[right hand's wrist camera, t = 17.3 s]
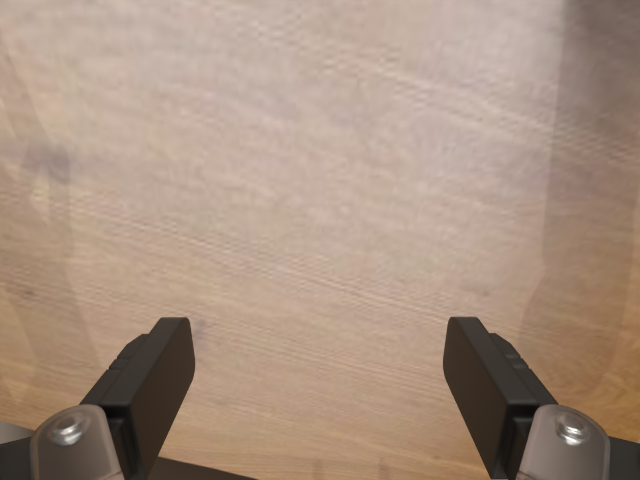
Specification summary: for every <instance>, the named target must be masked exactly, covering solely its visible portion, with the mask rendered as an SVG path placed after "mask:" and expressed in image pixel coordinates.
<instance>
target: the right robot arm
mask: <svg viewBox="0 0 640 480" xmlns="http://www.w3.org/2000/svg"><path fill="white" fill-rule="evenodd" d="M443 370H444V375H445V379H446V381H447V383H448V386H449V388H450V390H451V392H452V394H453V397H454V399H455V401H456V403H457V405H458V408H459V410H460V412H461V414H462V416H463V419H464V421H465V423H466V425H467V427H468V430H469V432H470V434H471V436H472V438H473V441H474V443H475V445H476V447H477V450H478V452H479V454H480V456H481V458H482V461H483V463H484V465H485V467H486V469H487V472H488V474H489V476H490V478H491V479H508V480H640V444H639V443H635V442H631V441H627V440H623V439H618V438H614V437H610V436H608V435H607V434H606V432H605V431H604V429H603V428H602V427H601V426H600V425H599V424H598V423H597V422H596V421H594V420H593V419H592V418H590V417H589V416H587V415H586V414H584V413H582V412H580V411H578V410H575V409H573V408H570V407H567V406H563V405H559V404H558V403H557V401H556V400H555V399H554V398H553V396H552V395H551V394H550V393H549V391H548V390H547V389H546V388H545V386H544V385H543V384H542V383H541V381H540V380H539V379H538V377H537V376H536V375H535V374H534V372H533V371H532V370H531V369H529V368H528V365H527V364H526V362H525V361H524V360H523V359H522V358H520V355H519V354H518V352H517V351H516V350H515V348H514V347H513V346H512V345H511V344H510V343H509V342H508V341H506V340H505V339H503V338H502V337H500V336H499V335H497V334H496V333H489V332H488V331H487V330H486V328H485V327H484V326H483V324H482V323H481V322H480V320H479V319H478V318H477V317H450V319H449V321H448V326H447V334H446V341H445V348H444V356H443ZM194 372H195V356H194V348H193V341H192V334H191V327H190V322H189V319H188V318H186V317H162V318H160V319H159V321H158V322H157V323H156V325H155V326H154V327H153V329H152V330H151V331H150V333H149V334H141V335H140V336H139V337H137V338H136V339H134V340H133V341H131V342H130V343H128V344H127V345H126V346H125V347H124V349H123V350H122V351H121V352H120V354H119V355H118V356H117V359H115V360H114V361H113V363H112V364H111V365H110V366H109V370H106V371H105V373H104V374H103V375H102V376H101V378H100V379H99V380H98V381H97V383H96V384H95V385H94V386H93V388H92V389H91V390H90V391H89V393H88V394H87V395H86V396H85V398H84V399H83V400H82V401H81V403H80V404H79V405H77V406H73V407H70V408H67V409H65V410H62V411H60V412H58V413H56V414H54V415H53V416H51V417H50V418H48V419H47V420H46V421H44V422H43V423H42V424H41V425H40V426H39V427H38V428H37V429H36V431H35V432H34V434H33V435H32V436H31V437H28V438H24V439H20V440H16V441H12V442H8V443H3V444H0V480H147V478H148V476H149V474H150V471H151V469H152V467H153V465H154V463H155V460H156V458H157V456H158V454H159V452H160V450H161V447H162V445H163V443H164V441H165V439H166V437H167V434H168V432H169V430H170V428H171V426H172V424H173V421H174V419H175V417H176V415H177V413H178V411H179V408H180V406H181V404H182V402H183V400H184V397H185V395H186V393H187V391H188V389H189V387H190V384H191V382H192V380H193V376H194Z"/></svg>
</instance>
